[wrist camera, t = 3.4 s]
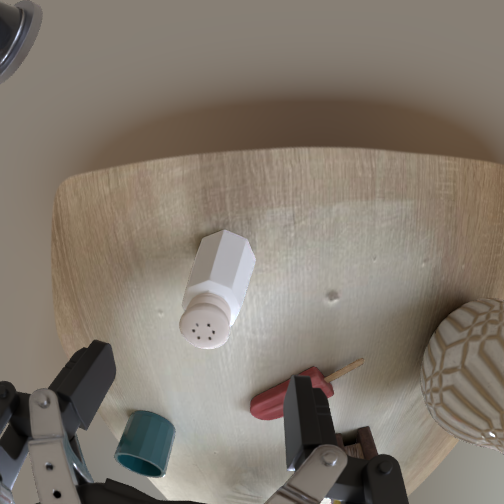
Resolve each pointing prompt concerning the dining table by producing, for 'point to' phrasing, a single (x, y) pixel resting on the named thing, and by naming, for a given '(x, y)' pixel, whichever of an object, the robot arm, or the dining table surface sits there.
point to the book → (359, 448)
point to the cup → (146, 444)
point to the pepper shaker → (216, 288)
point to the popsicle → (273, 399)
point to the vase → (468, 373)
